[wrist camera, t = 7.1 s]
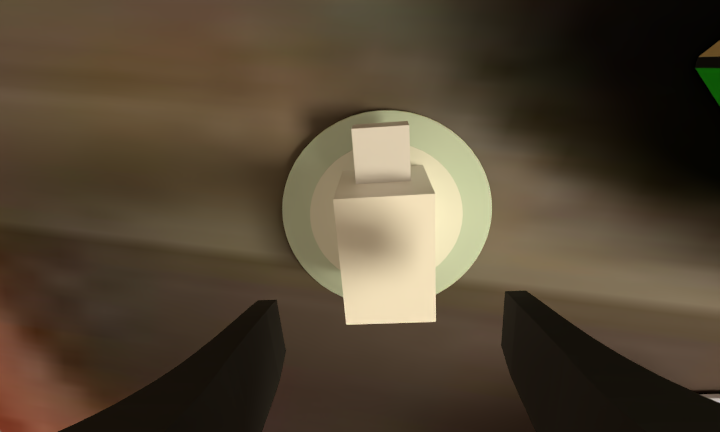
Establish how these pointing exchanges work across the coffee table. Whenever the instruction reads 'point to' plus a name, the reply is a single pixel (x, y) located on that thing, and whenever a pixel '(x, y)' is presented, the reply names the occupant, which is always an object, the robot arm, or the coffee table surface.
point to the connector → (386, 230)
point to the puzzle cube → (710, 69)
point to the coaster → (427, 147)
